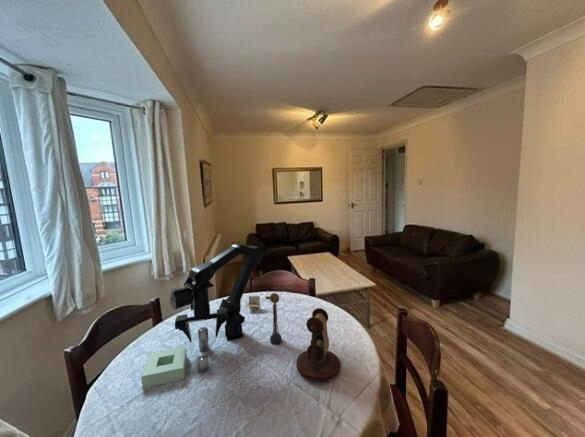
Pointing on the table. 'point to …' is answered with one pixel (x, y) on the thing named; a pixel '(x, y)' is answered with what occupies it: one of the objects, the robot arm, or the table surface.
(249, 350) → the table surface
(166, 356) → the hole block
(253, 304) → the architectural model
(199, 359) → the short pin
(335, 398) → the table surface
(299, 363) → the dark brown tall piece
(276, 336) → the dark grey slender stand
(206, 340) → the long pin
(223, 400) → the table surface
